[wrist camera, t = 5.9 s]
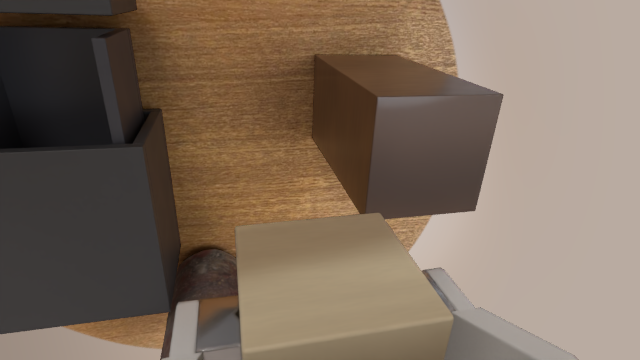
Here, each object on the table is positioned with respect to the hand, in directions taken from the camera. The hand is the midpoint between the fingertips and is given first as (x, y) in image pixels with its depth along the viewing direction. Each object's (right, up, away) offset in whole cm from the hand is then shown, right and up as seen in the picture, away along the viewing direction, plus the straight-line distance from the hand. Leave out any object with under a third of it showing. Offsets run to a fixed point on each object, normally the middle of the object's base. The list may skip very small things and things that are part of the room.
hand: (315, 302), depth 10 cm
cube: (0, 0, +1) cm, 1 cm away
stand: (+3, +11, +28) cm, 30 cm away
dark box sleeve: (-20, +3, +26) cm, 33 cm away
